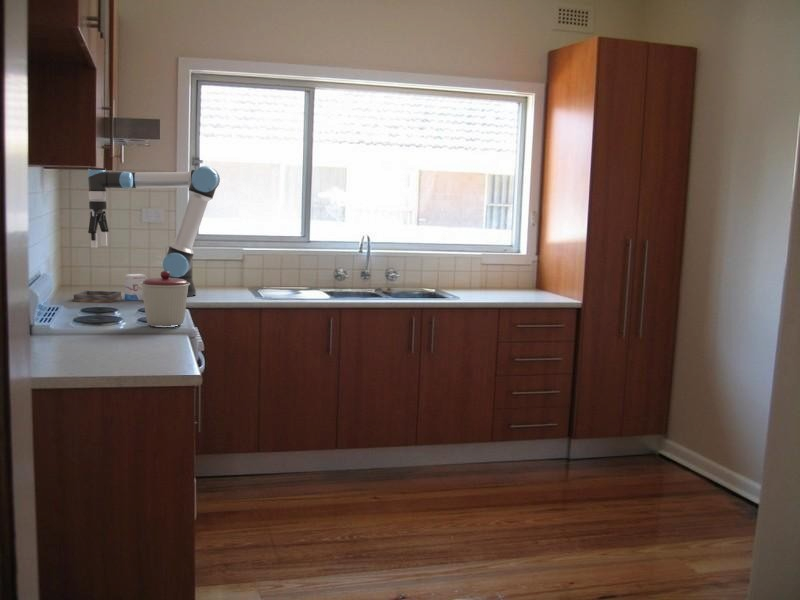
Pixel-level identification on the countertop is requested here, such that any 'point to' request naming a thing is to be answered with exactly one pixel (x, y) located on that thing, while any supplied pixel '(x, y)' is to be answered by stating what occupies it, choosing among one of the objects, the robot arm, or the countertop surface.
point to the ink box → (134, 286)
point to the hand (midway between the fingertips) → (99, 246)
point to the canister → (165, 300)
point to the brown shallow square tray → (97, 296)
